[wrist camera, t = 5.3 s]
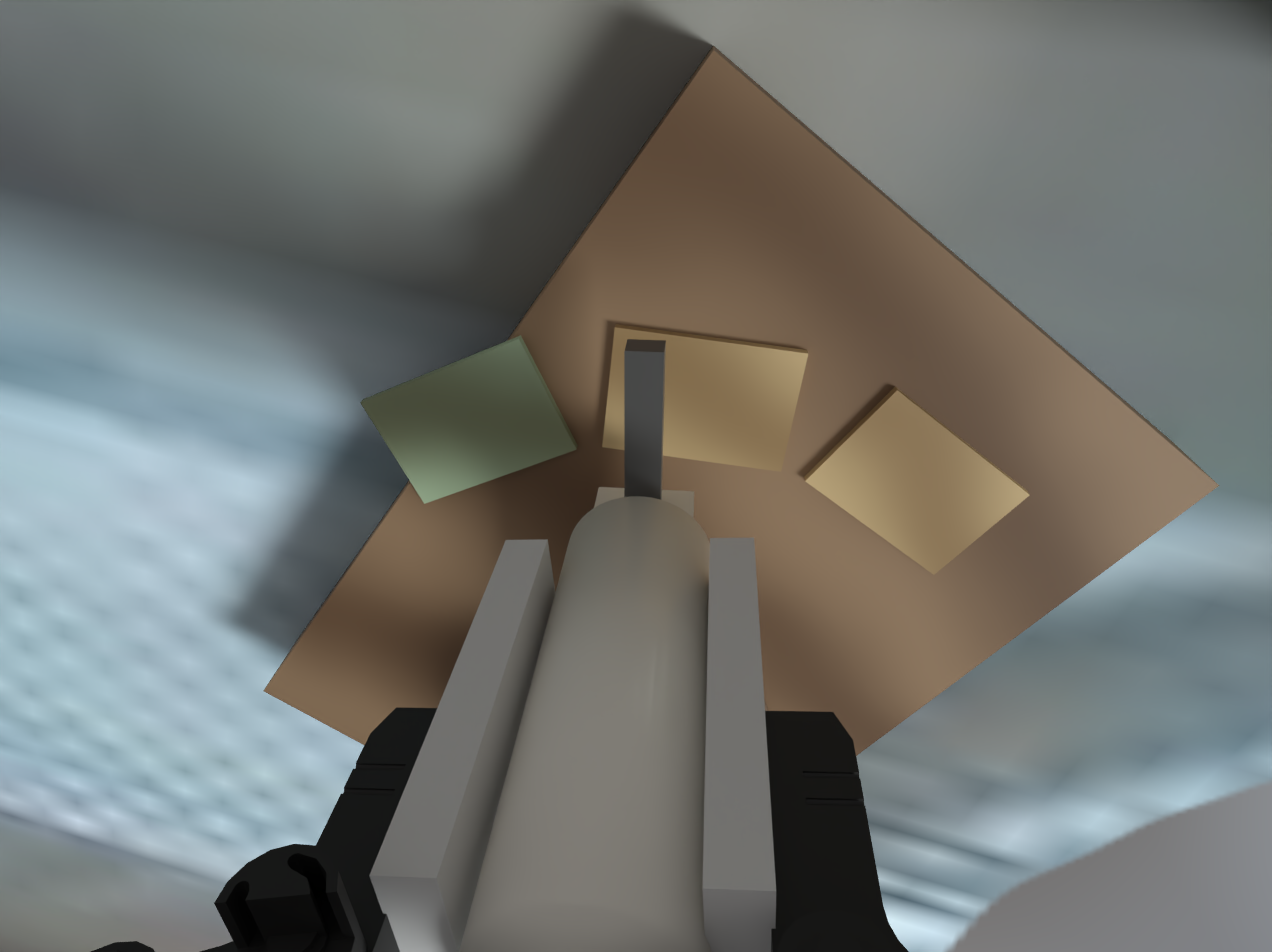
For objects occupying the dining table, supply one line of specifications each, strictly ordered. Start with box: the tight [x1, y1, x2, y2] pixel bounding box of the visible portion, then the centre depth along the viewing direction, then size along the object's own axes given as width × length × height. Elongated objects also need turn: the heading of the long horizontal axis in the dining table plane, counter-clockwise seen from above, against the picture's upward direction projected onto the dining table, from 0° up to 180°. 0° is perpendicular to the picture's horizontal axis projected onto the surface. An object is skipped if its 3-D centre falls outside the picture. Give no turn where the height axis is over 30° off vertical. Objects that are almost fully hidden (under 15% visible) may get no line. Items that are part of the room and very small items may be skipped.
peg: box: [459, 339, 712, 952], centre depth 15 cm, size 15×6×11 cm, turn 0°
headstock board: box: [264, 46, 1219, 756], centre depth 21 cm, size 20×16×2 cm
